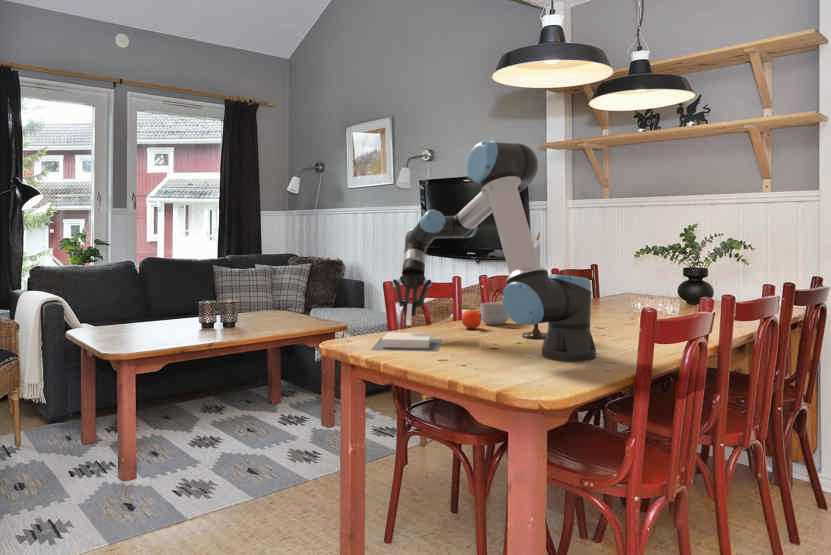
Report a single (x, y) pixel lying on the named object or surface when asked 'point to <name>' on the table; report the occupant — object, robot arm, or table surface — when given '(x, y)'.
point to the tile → (407, 340)
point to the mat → (433, 347)
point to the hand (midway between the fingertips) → (408, 322)
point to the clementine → (471, 319)
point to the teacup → (493, 313)
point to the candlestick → (536, 332)
